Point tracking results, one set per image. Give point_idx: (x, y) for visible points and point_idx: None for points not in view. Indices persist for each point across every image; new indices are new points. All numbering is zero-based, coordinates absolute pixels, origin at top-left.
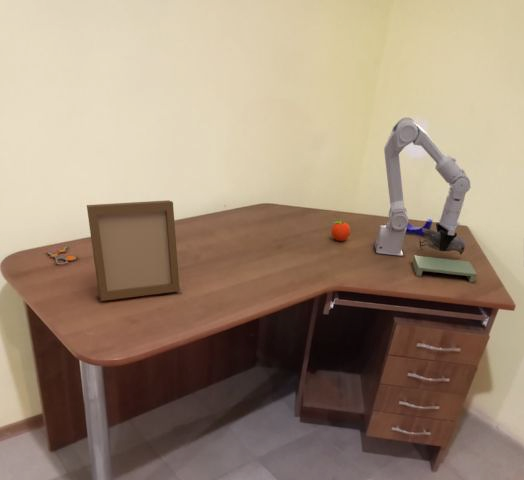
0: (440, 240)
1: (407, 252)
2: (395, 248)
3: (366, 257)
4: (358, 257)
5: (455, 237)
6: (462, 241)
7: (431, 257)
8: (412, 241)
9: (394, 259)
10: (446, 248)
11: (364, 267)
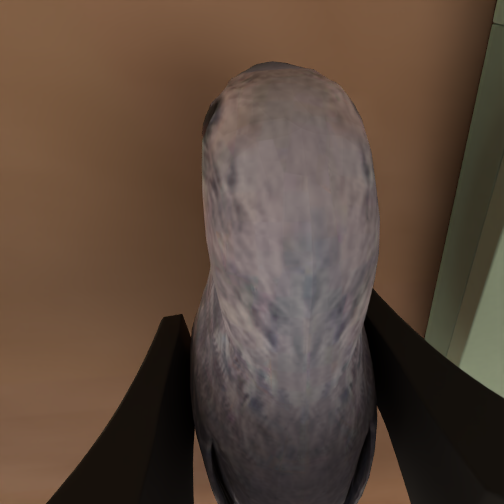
0: (390, 432)
1: None
2: None
3: (384, 482)
4: (391, 494)
5: (329, 359)
6: (371, 215)
7: (469, 343)
8: (30, 396)
9: (380, 423)
10: (386, 305)
11: None
